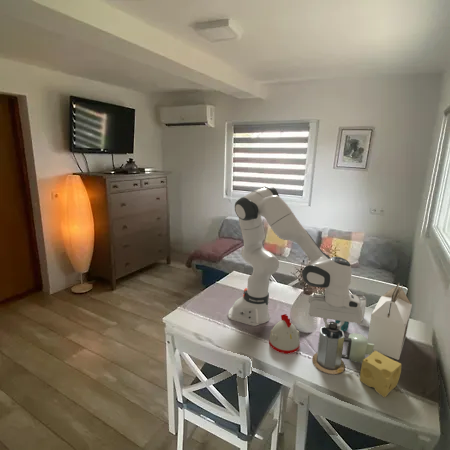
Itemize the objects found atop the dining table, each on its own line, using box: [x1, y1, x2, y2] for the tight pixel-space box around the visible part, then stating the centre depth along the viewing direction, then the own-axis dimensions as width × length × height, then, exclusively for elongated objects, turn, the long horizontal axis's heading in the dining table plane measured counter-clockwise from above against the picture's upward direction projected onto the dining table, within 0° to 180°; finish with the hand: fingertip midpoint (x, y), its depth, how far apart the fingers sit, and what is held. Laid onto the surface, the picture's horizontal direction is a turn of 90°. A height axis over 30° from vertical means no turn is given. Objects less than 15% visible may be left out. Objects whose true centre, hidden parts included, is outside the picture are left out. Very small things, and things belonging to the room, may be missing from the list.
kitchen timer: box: [268, 313, 301, 355], centre depth 134 cm, size 14×14×15 cm
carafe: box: [311, 325, 352, 376], centre depth 121 cm, size 14×13×15 cm
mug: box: [345, 332, 374, 363], centre depth 127 cm, size 10×8×9 cm
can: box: [355, 294, 367, 321], centre depth 157 cm, size 6×6×12 cm
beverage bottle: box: [334, 320, 350, 332], centre depth 144 cm, size 6×7×20 cm
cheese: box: [359, 350, 402, 398], centre depth 112 cm, size 10×11×10 cm
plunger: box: [326, 321, 339, 338], centre depth 120 cm, size 7×7×13 cm
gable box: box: [367, 282, 413, 361], centre depth 135 cm, size 22×13×28 cm, turn 142°
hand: (332, 327), depth 119 cm, fingers closed on plunger, 3 cm apart
